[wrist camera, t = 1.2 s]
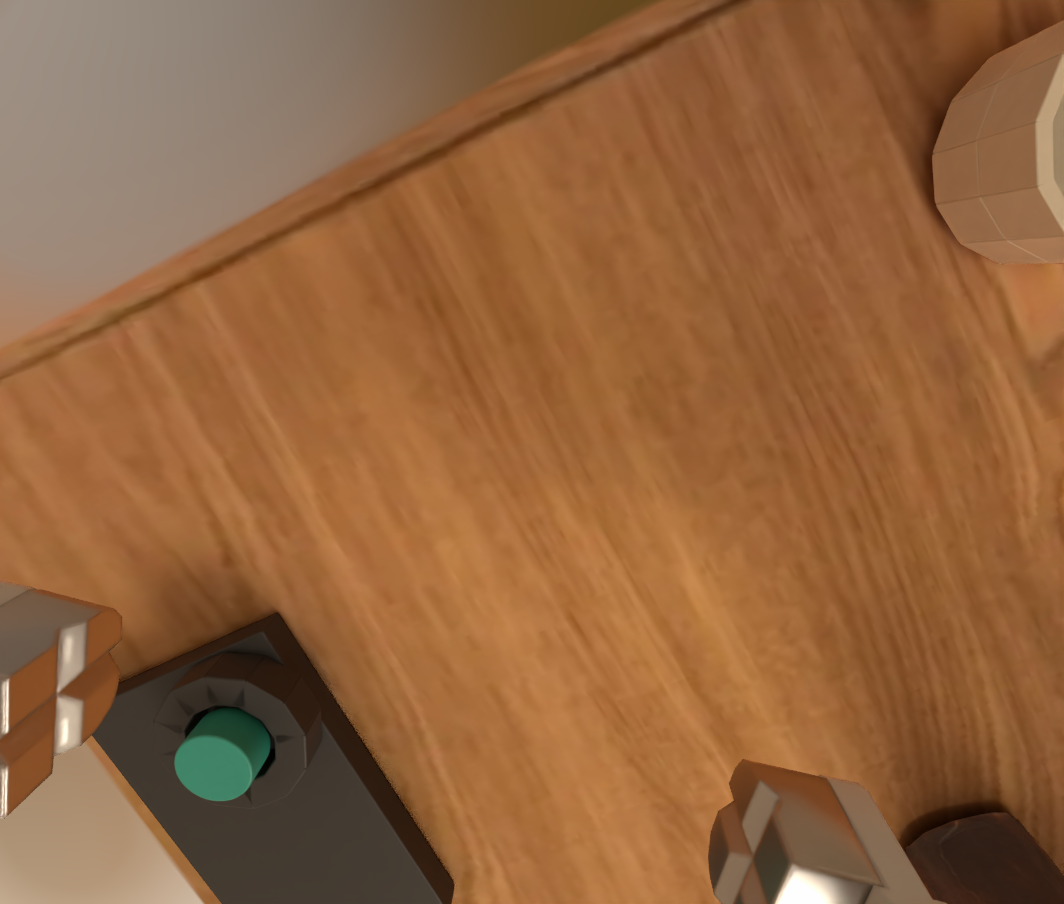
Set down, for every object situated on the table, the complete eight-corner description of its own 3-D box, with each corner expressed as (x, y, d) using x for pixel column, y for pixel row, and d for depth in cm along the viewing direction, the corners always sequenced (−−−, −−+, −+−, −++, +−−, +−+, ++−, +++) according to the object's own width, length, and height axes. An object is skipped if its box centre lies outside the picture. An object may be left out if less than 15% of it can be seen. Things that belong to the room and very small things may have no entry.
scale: (99, 692, 27) (43, 742, 24) (285, 608, 25) (249, 652, 22) (287, 942, 30) (258, 1013, 27) (462, 882, 29) (450, 950, 26)
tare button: (183, 722, 24) (157, 752, 22) (245, 696, 23) (223, 724, 22) (224, 779, 24) (202, 812, 23) (285, 754, 24) (267, 786, 22)
